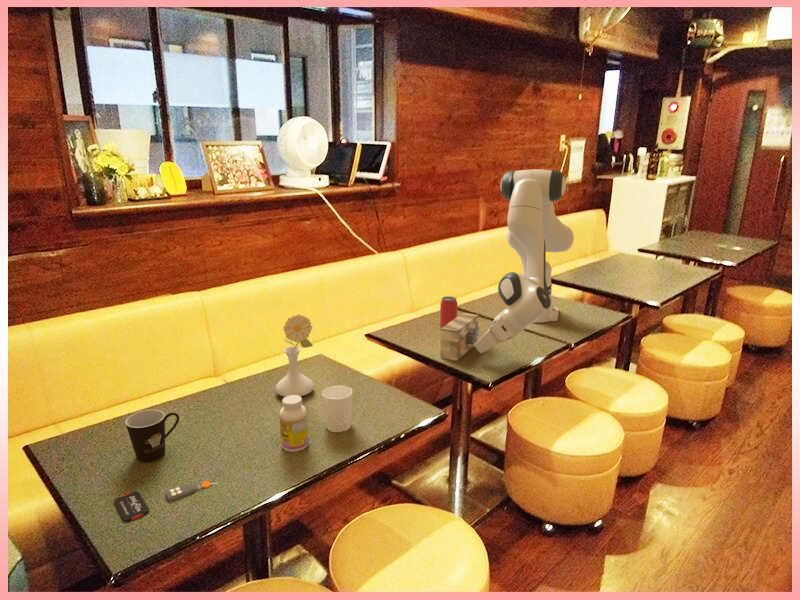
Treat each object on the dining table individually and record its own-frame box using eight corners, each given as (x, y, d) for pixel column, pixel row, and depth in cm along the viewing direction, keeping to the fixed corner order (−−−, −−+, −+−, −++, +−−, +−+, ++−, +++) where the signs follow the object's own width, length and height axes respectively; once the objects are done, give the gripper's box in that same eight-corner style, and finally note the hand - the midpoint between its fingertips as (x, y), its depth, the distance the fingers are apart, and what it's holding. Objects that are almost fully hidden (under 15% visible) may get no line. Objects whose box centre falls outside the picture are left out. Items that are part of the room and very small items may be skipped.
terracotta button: (456, 345, 193) (456, 337, 192) (464, 347, 191) (464, 339, 190) (453, 348, 190) (453, 340, 189) (461, 350, 189) (461, 342, 188)
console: (462, 339, 208) (463, 312, 205) (477, 342, 205) (478, 315, 202) (440, 357, 192) (440, 328, 189) (456, 360, 189) (457, 331, 186)
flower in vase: (267, 396, 165) (261, 316, 157) (290, 381, 175) (285, 304, 167) (304, 405, 159) (299, 322, 152) (326, 389, 169) (322, 310, 162)
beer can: (457, 330, 217) (458, 301, 213) (440, 330, 217) (441, 300, 214) (456, 324, 223) (456, 296, 220) (439, 324, 223) (440, 295, 220)
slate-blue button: (471, 333, 204) (471, 326, 203) (478, 335, 202) (479, 327, 201) (467, 336, 201) (468, 328, 200) (475, 338, 200) (475, 330, 199)
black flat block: (112, 499, 119) (137, 489, 122) (112, 501, 119) (137, 492, 122) (124, 522, 112) (150, 511, 115) (125, 525, 112) (150, 514, 115)
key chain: (169, 505, 119) (168, 499, 118) (165, 495, 121) (164, 490, 121) (230, 483, 126) (229, 477, 125) (224, 475, 129) (223, 469, 128)
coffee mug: (131, 468, 130) (124, 430, 127) (131, 450, 138) (125, 413, 135) (184, 457, 135) (179, 420, 132) (182, 439, 142) (177, 404, 139)
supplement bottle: (278, 442, 141) (274, 396, 137) (303, 435, 144) (300, 390, 140) (286, 455, 135) (283, 408, 131) (312, 448, 138) (309, 401, 134)
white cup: (320, 422, 150) (318, 388, 147) (348, 416, 153) (347, 383, 150) (328, 436, 143) (326, 401, 140) (357, 430, 146) (356, 395, 143)
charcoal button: (468, 340, 197) (468, 332, 197) (476, 341, 196) (476, 333, 195) (464, 343, 195) (465, 335, 194) (472, 344, 194) (473, 336, 193)
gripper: (511, 308, 189) (483, 330, 196) (490, 326, 172) (459, 350, 179) (523, 322, 188) (494, 344, 195) (503, 342, 171) (472, 365, 178)
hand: (477, 347), depth 187 cm, fingers closed
